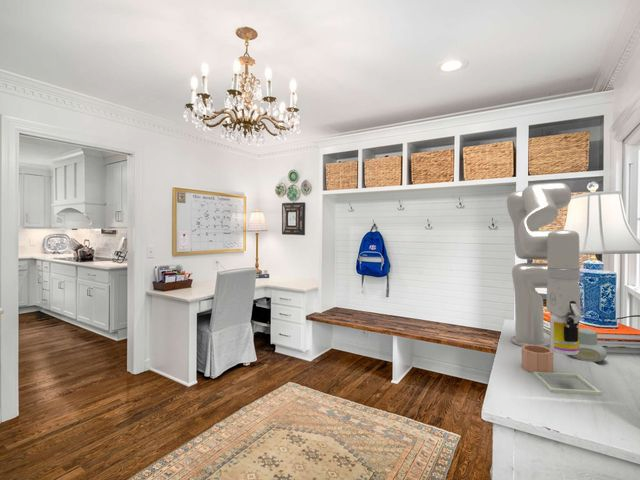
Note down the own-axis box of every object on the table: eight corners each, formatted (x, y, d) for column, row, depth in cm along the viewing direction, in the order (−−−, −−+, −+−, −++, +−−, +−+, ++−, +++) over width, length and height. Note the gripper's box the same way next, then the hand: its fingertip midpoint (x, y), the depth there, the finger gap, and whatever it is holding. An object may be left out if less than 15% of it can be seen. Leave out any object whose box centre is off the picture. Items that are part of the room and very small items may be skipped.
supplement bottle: (584, 356, 94) (583, 309, 94) (557, 355, 96) (556, 308, 95) (571, 348, 101) (571, 304, 101) (546, 347, 102) (545, 303, 102)
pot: (517, 365, 115) (517, 344, 115) (546, 366, 113) (546, 345, 113) (527, 375, 107) (526, 352, 107) (559, 377, 105) (558, 354, 105)
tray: (533, 376, 106) (533, 371, 106) (577, 379, 103) (577, 373, 103) (550, 395, 94) (550, 389, 94) (601, 398, 91) (601, 392, 91)
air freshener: (566, 360, 118) (566, 331, 118) (566, 353, 125) (566, 325, 125) (608, 366, 112) (608, 335, 112) (605, 358, 119) (605, 329, 119)
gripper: (536, 271, 107) (537, 328, 107) (563, 278, 90) (564, 346, 90) (563, 271, 106) (564, 329, 106) (596, 278, 89) (597, 347, 89)
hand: (564, 336), depth 98 cm, fingers closed on supplement bottle, 6 cm apart
